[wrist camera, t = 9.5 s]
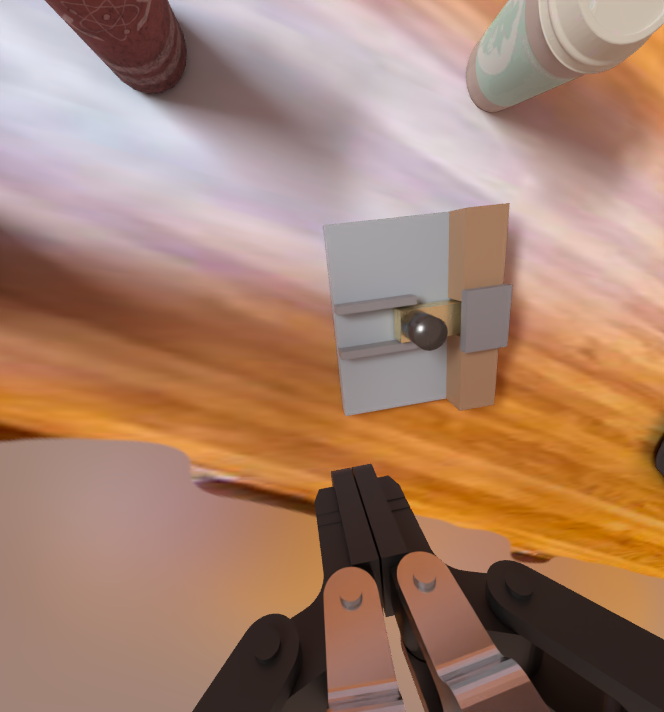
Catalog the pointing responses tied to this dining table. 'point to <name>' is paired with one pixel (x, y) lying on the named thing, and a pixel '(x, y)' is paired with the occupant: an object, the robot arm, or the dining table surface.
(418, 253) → the door plate
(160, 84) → the can
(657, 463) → the casserole
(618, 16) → the coffee cup
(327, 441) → the dining table surface
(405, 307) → the bolt
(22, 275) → the dining table surface
